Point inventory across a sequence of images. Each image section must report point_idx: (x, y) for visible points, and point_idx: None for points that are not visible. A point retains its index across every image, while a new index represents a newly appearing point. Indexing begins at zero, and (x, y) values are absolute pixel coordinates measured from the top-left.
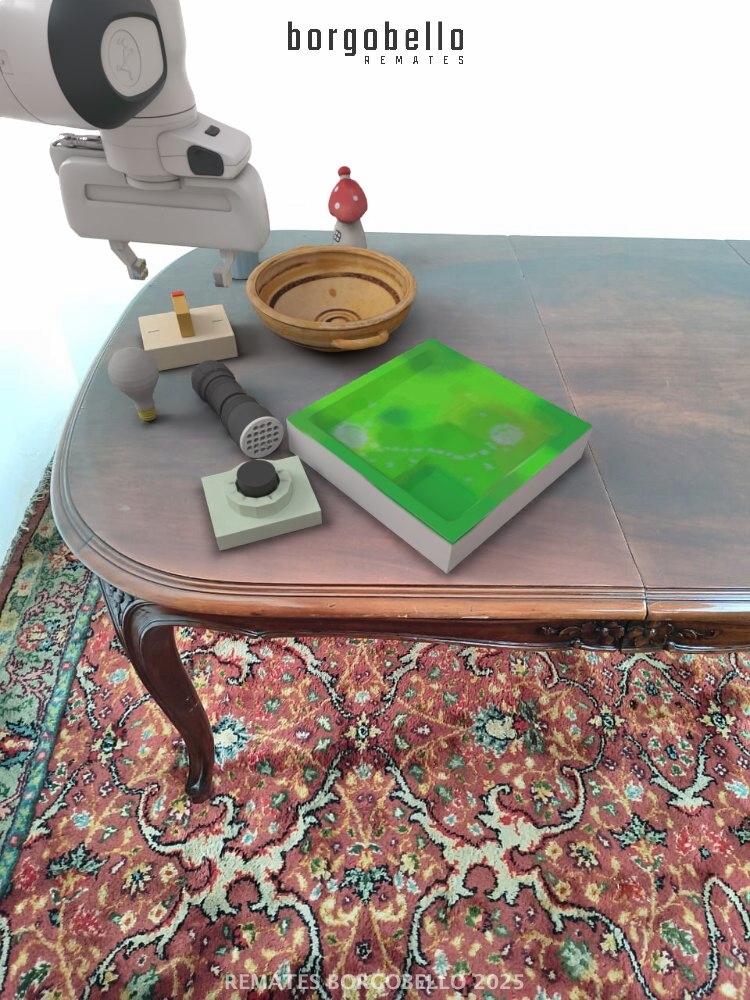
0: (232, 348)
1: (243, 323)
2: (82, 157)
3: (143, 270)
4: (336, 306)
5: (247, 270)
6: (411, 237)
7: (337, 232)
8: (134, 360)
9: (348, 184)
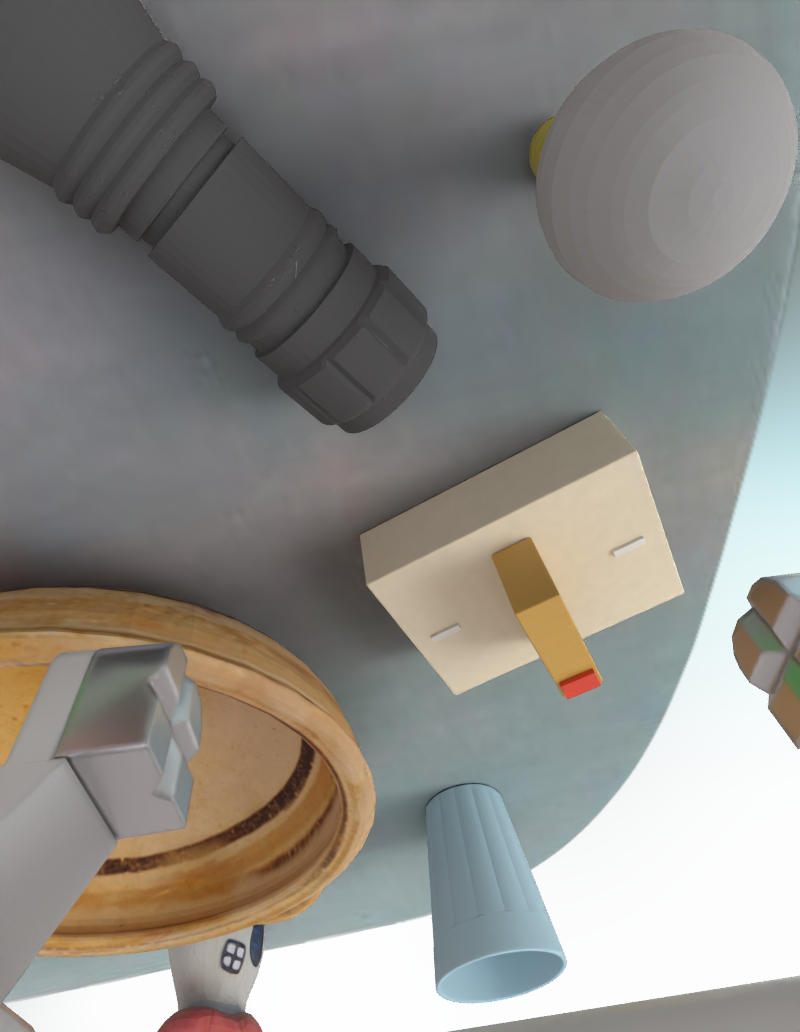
0: (373, 549)
1: (396, 659)
2: None
3: (783, 653)
4: None
5: (445, 811)
6: (131, 968)
7: (233, 966)
8: (670, 135)
9: None
